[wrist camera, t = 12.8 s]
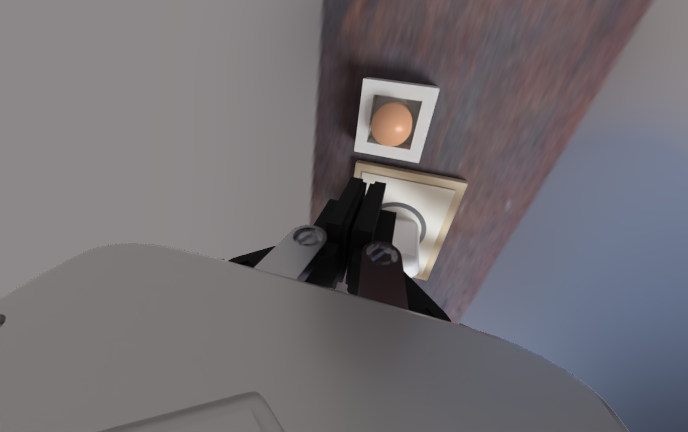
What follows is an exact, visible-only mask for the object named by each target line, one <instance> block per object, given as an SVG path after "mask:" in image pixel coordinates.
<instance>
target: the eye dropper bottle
mask: <svg viewBox="0 0 688 432" xmlns="http://www.w3.org/2000/svg"><path fill="white" fill-rule="evenodd" d="M392 245H394V246H395V247H396V248H397V249H398V250H399V251H400V252H401V255H402V261H403V269H404V272H405V273H406V274H407V275H408V276H409V277H410V278H411V277H414V276H415V275H417V274H418V272H419V227H418V224H417V223H415V222H413V221H409V220H402V219H396V222H395V228H394V235H393V242H392Z"/></svg>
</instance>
